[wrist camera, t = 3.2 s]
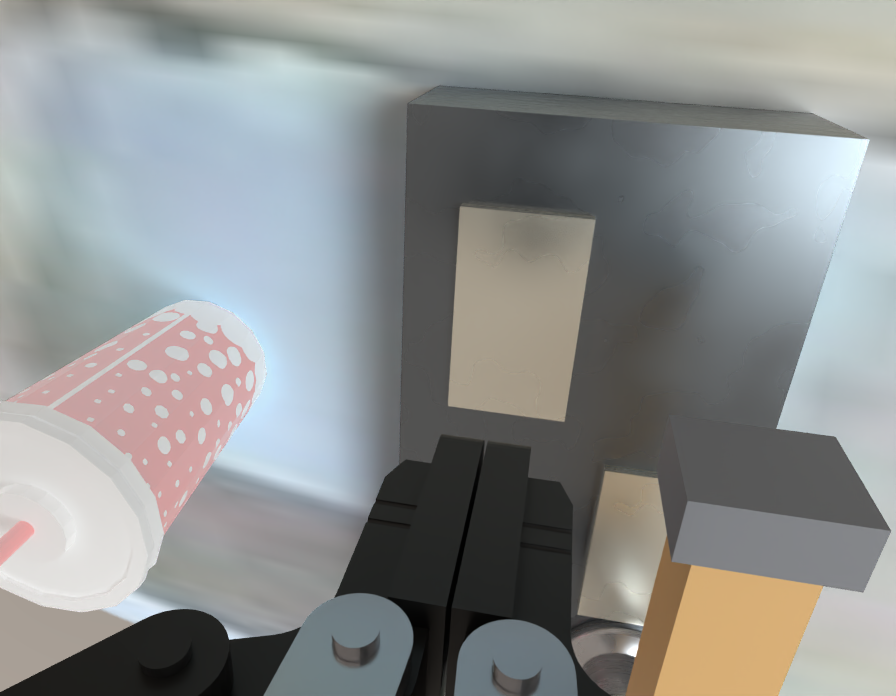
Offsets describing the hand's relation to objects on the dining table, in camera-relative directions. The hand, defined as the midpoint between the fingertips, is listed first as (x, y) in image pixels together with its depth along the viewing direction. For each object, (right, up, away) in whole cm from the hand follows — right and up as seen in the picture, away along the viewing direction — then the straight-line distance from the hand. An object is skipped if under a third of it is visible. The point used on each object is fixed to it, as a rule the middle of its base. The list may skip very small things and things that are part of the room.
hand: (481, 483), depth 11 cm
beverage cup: (-9, +2, +14) cm, 17 cm away
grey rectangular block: (+4, +1, +11) cm, 12 cm away
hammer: (+4, -6, +4) cm, 8 cm away
